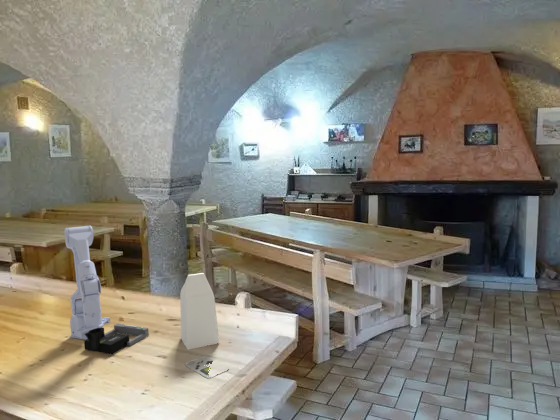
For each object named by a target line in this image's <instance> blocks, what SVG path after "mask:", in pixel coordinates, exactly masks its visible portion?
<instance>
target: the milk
mask: <svg viewBox="0 0 560 420" xmlns="http://www.w3.org/2000/svg"><path fill="white" fill-rule="evenodd" d="M179 295H180V296H179V297H180V339H181V341H182V343H183V344H184V346H185V348H186V350H187V351H188V350H193V349H198V348H203V347H207V345H208V346H212V345H216V344H217V343H218V344H220V337H219V327H218V320H217V309H216V298H215V294H214V292H213V289H212V287H211V285H210V283H209V281H208V279H207V276H206V275H205V273H204V272H199V273H194V274H193V273H192V274H187V277H186V279H185V282H184V283H183V286H182V287H181V289H180V292H179ZM218 344H217V345H218Z"/></svg>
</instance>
